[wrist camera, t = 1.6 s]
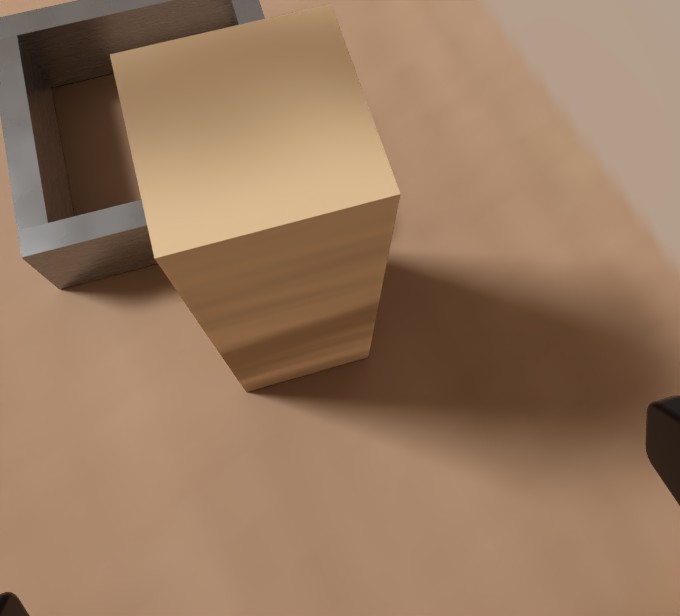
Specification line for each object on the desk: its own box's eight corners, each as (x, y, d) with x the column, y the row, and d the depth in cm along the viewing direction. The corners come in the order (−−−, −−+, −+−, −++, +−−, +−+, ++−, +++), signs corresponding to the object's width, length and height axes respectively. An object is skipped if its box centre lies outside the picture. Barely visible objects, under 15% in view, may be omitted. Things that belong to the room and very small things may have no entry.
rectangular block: (368, 357, 23) (400, 193, 12) (246, 392, 22) (154, 258, 11) (333, 246, 24) (331, 3, 13) (217, 277, 24) (109, 54, 12)
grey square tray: (318, 220, 25) (317, 181, 22) (59, 289, 24) (21, 257, 21) (256, 20, 28) (247, -38, 25) (23, 73, 27) (-14, 20, 24)
